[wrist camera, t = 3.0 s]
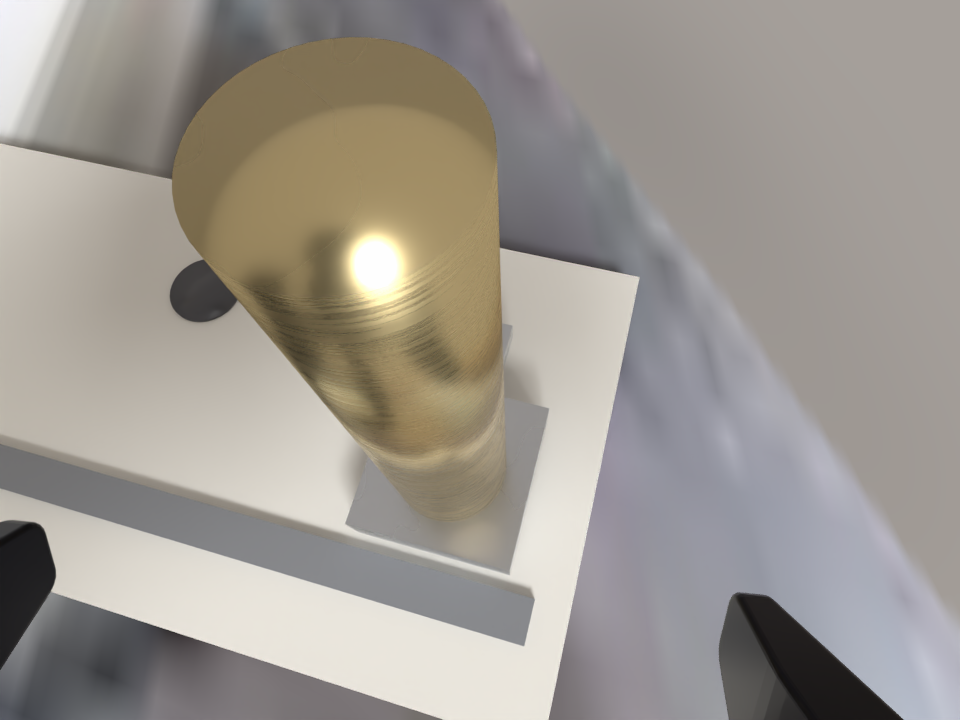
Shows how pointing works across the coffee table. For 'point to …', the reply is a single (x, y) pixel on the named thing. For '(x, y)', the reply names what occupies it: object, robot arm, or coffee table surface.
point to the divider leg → (375, 275)
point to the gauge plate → (271, 456)
